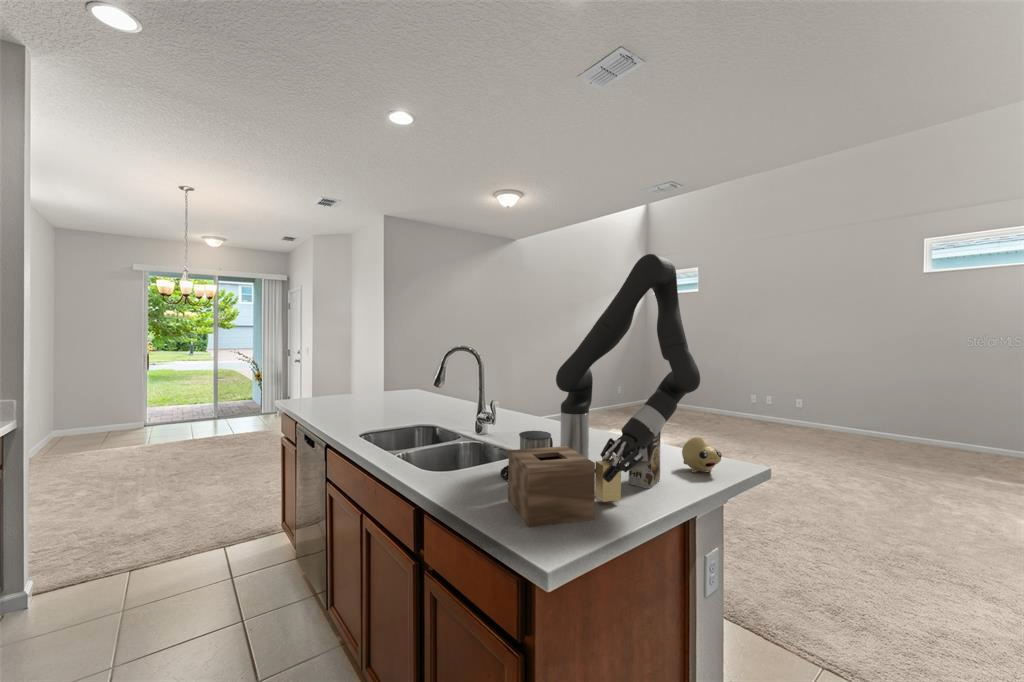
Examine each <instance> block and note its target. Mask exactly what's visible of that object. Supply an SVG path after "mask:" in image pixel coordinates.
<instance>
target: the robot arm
mask: <svg viewBox="0 0 1024 682" xmlns="http://www.w3.org/2000/svg"><path fill="white" fill-rule="evenodd" d="M651 289H652V291H653V294H654V296H655V299H656V302H657V312H658V313H657V318H656V319H657V320H656V322H657V323H656V334H657V339H658V345H659V348H660V352H661V356H662V358H663V359H664V360H665V361H668V363H669V366H670V369H671V371H669V373H667V375H665V377H664V378H663V379H662V380H661V382H660V383H659V384H658V387H657V388H656V390H655V392H654V393H653V394H652V395H651V396H649V398H648V399H647V400H646V401H645V403H644V404H643V405H642V406H641V407H639V409H637V410H636V412H635V413H634V414H633V415H632V416H631V417H630V418H629V420H627V422H626V423H625V424H624V426H623V427H622V428H621V433H622V434H621V435H620V437H618V438H617V439H616V440H614V439H613V438H612V437H610V438H609V439H608V440H607V442H606V444H605V446H604V447H603V449H602V451H601V453H600V457H601V459H602V460H601V461H604V460H614V461H615V462H614V463H613V466H611V467H610V468H609V469H608V470H607V471H606V473H605V474H604V475H603V478H604V479H605V480H606V481H607V482H610V481H611V480H612V479H613V478H614V477H615V476H616V475H617V473H618V472H621V473H622V472H624V473H628V472H629V470H630V469H631V468H632V467H633V466H635V465H636V464H637V463H638V462H640V461H641V460H642V459H643V458H644V457H643V456H642V454H641V453H640V452H639V451H640V449H646V447H647V446H648V445H649V444H650V443H651V441H652V440H653V439H654V438H655V436H656V435H657V434H658V433H659V432H660V430H662V429H663V427H664V425H665V424H666V423H667V422H668V421H669V420H670V418H671V417H672V416H673V415H674V414H675V412H676V410H677V408H678V404H679V402H680V401H681V400H682V399H683V397H685V395H687V394H689V393H692V392H695V391H696V390H697V389H698V388H699V387H700V383H701V374H700V370H699V368H698V365H697V363H696V362H695V360H694V357H693V355H692V354H691V352H690V349H689V345H688V342H687V337H686V334H685V329H684V325H683V321H682V316H681V309H680V303H679V302H680V300H679V292H678V291H679V290H678V278H677V268H676V266H675V265H674V263H673V262H672V261H671V260H670V259H668V258H666V257H663V256H660V255H659V254H658V255H657V254H656V253H648V254H645V255H643V256H641V257H640V258H639V259H638V260H637V261H636V262H635V264H634V265H633V267H632V268H631V270H630V272H629V274H628V276H627V277H626V279H625V281H624V282H623V284H622V286H621V287H620V289H619V291H618V292H617V293H616V295H615V296H614V298H613V299H612V300H611V302H610V303H609V305H608V306H607V307H606V309H605V310H604V311H603V313H601V314H600V316H599V318H598V319H597V320H596V321H595V323H594V325H592V328H591V329H590V331H589V332H588V334H586V336H585V337H584V338H583V340H582V341H581V342H580V344H579V346H578V347H576V349H575V351H574V352H573V353H572V354H571V355H570V356H569V357H568V358H567V359H566V360H565V362H563V364H561V366H560V367H559V369H558V370H557V372H556V377H555V383H556V384H555V385H556V386H557V388H558V389H559V390H561V391H562V392H565V393H567V396H566V397H565V399H564V400H563V401H562V402H561V403H560V441H559V444H560V445H559V447H561V446H567V447H569V448H570V449H572V450H574V451H576V452H577V453H579V454H581V455H582V456H584V457H586V458H587V459H589V454H590V453H589V452H590V451H589V448H590V446H589V444H590V442H589V441H590V435H589V434H590V432H589V431H590V427H589V426H590V422H589V421H590V408H591V404H592V401H593V373H592V370H591V367H592V365H594V364H595V363H596V362H597V361H598V360H600V359H602V357H604V356H605V355H607V354H608V353H609V352H610V351H612V350H613V349H614V348H615V347H617V346H618V344H619V343H620V342H621V340H622V339H623V338H624V337H625V336H626V334H627V333H628V331H629V330H630V328H631V325H632V323H633V319H634V314H635V311H636V309H637V306H638V305H639V303H640V301H641V300H643V299H642V298H643V297H644V296H645V295H646V293H648V291H650V290H651ZM629 463H630V464H629ZM595 473H596V467H595Z"/></svg>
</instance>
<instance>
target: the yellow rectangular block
mask: <svg viewBox="0 0 1024 682" xmlns="http://www.w3.org/2000/svg"><path fill="white" fill-rule="evenodd" d="M614 462H615V461H614V460H604V461H602V460H596V461H595V468H596V473H595V498H597V499H598V500H600V501H601V502H602V503H606V502H614V501H621V498H622V496H621V495H622V471H621V472H618V473H617V475H616V476H615V477H614V478H613V479H612V480H611V481H610V482H607V481H606V480H605V479H604V478H603V475H604V474H605V473H606V471H607V470H608V469H609V468H610V467H611V466H613V463H614Z"/></svg>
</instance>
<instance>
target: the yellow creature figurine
mask: <svg viewBox="0 0 1024 682" xmlns="http://www.w3.org/2000/svg"><path fill="white" fill-rule="evenodd" d="M681 455H682V459H683V464H684V465H685V466H686V465H687V466H688V467H689V468H691V471H693V472H692V473H694V472H696V473H697V472H702V471H704V472H707V471H711V470H712V469H713V468H714V467H715V466H716V465H718V464H719V463H720V462H721V461H722V456H723V455H722V452H721V451H719V450H717V449H715V448H714V447H713V446H712V445H711V444H710V443H708V441H706V440H705V439H703V438H702V437H699V436H695V437H692V438H690V439H689V440H687V441H686V442H685V443H684V445H683V447H682V449H681ZM711 472H712V471H711Z"/></svg>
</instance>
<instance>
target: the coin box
mask: <svg viewBox="0 0 1024 682" xmlns="http://www.w3.org/2000/svg"><path fill="white" fill-rule="evenodd" d="M507 463H508V464H507V465H508V480H507V481H508V483H507V485H508V487H507V489H508V490H507V499H508V500H507V501H508V504H510V505H511V507H512V508H513V510H514V511H515V512H516V513H517V514H518V516H519V517H520V518H521V519H522V521H523V522H524V523H525V525H526V527H527V528H537V527H544V526H551V525H559V524H567V523H575V522H583V521H591V520H595V508H596V507H595V498H596V496H595V468H596V462H594V461H592V460H590V459H589V458H588V459H587V458H586V457H584V456H582V455H581V454H579V453H577V452H576V451H574V450H572V449H570V448H569V447H567V446H561V447H560V446H553V447H547V448H533V449H520V448H519V449H508V462H507Z"/></svg>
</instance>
